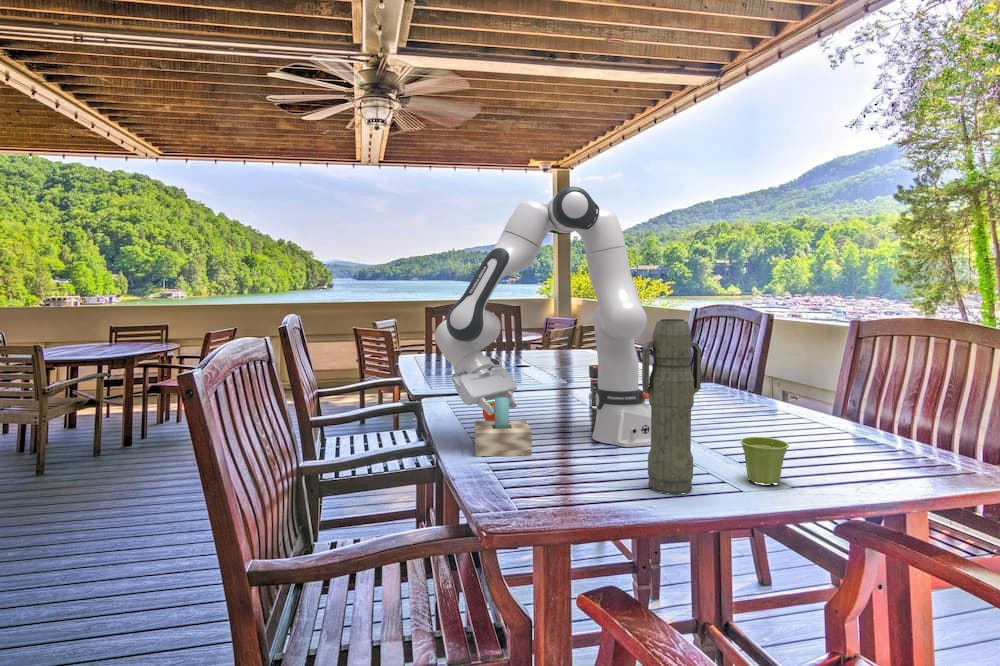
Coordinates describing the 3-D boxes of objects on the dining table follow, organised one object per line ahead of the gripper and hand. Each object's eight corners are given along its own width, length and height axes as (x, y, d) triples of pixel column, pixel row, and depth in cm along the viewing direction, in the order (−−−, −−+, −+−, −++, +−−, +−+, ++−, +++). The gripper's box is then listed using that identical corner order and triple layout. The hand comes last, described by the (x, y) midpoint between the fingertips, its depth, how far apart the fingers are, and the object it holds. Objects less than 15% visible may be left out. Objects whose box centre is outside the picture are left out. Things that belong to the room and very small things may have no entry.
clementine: (494, 427, 174) (494, 404, 173) (476, 424, 178) (476, 402, 177) (508, 422, 180) (508, 400, 180) (490, 419, 184) (490, 398, 184)
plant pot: (785, 492, 114) (786, 450, 114) (735, 484, 119) (736, 444, 119) (790, 479, 122) (791, 440, 121) (743, 472, 127) (744, 434, 126)
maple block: (525, 441, 156) (525, 420, 155) (531, 455, 142) (531, 432, 141) (474, 442, 155) (474, 421, 154) (475, 457, 141) (475, 433, 140)
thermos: (708, 492, 114) (710, 319, 112) (654, 497, 112) (655, 320, 110) (685, 479, 123) (687, 318, 121) (634, 482, 120) (636, 319, 118)
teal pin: (508, 441, 150) (508, 396, 149) (509, 444, 146) (509, 399, 146) (494, 441, 150) (494, 397, 149) (495, 445, 146) (495, 399, 146)
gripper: (455, 366, 143) (486, 409, 137) (503, 359, 159) (532, 397, 154) (442, 382, 146) (472, 424, 140) (490, 373, 162) (518, 411, 157)
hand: (503, 410), depth 147 cm, fingers open, 8 cm apart
